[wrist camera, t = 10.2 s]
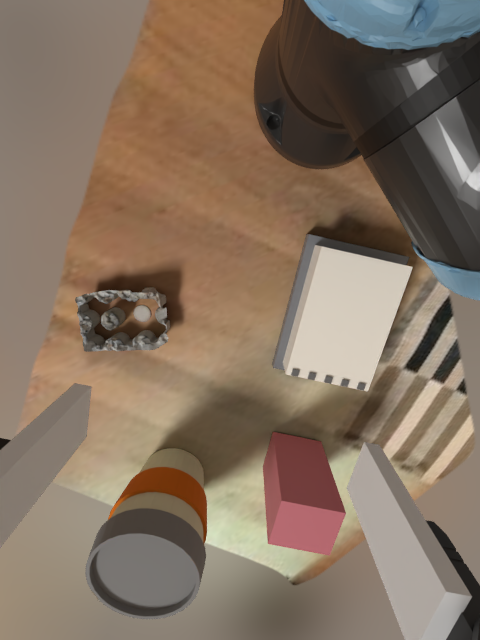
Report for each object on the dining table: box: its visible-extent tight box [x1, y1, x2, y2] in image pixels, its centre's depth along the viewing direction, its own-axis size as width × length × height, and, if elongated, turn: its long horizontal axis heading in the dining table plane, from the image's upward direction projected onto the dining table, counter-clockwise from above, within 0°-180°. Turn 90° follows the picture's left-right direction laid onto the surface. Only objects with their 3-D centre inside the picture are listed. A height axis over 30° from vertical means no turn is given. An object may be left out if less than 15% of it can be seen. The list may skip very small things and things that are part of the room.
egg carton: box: [75, 287, 170, 352], centre depth 40 cm, size 11×8×4 cm
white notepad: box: [272, 234, 413, 391], centre depth 38 cm, size 17×12×5 cm
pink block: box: [263, 432, 346, 555], centre depth 41 cm, size 6×7×12 cm
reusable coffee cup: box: [86, 448, 207, 619], centre depth 41 cm, size 12×13×15 cm
